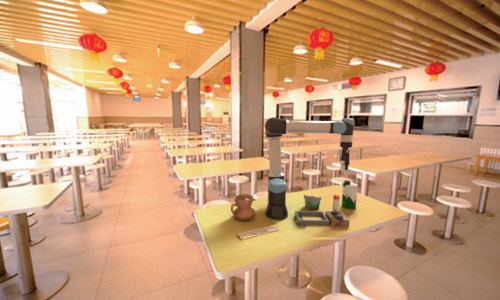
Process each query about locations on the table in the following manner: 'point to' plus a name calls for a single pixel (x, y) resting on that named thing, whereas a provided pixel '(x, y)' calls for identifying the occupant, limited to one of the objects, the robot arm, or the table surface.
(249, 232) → the newspaper
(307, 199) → the half moon wedge
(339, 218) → the block
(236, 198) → the ceramic jug
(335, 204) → the pin
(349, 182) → the milk carton
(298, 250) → the table surface
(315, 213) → the tray
